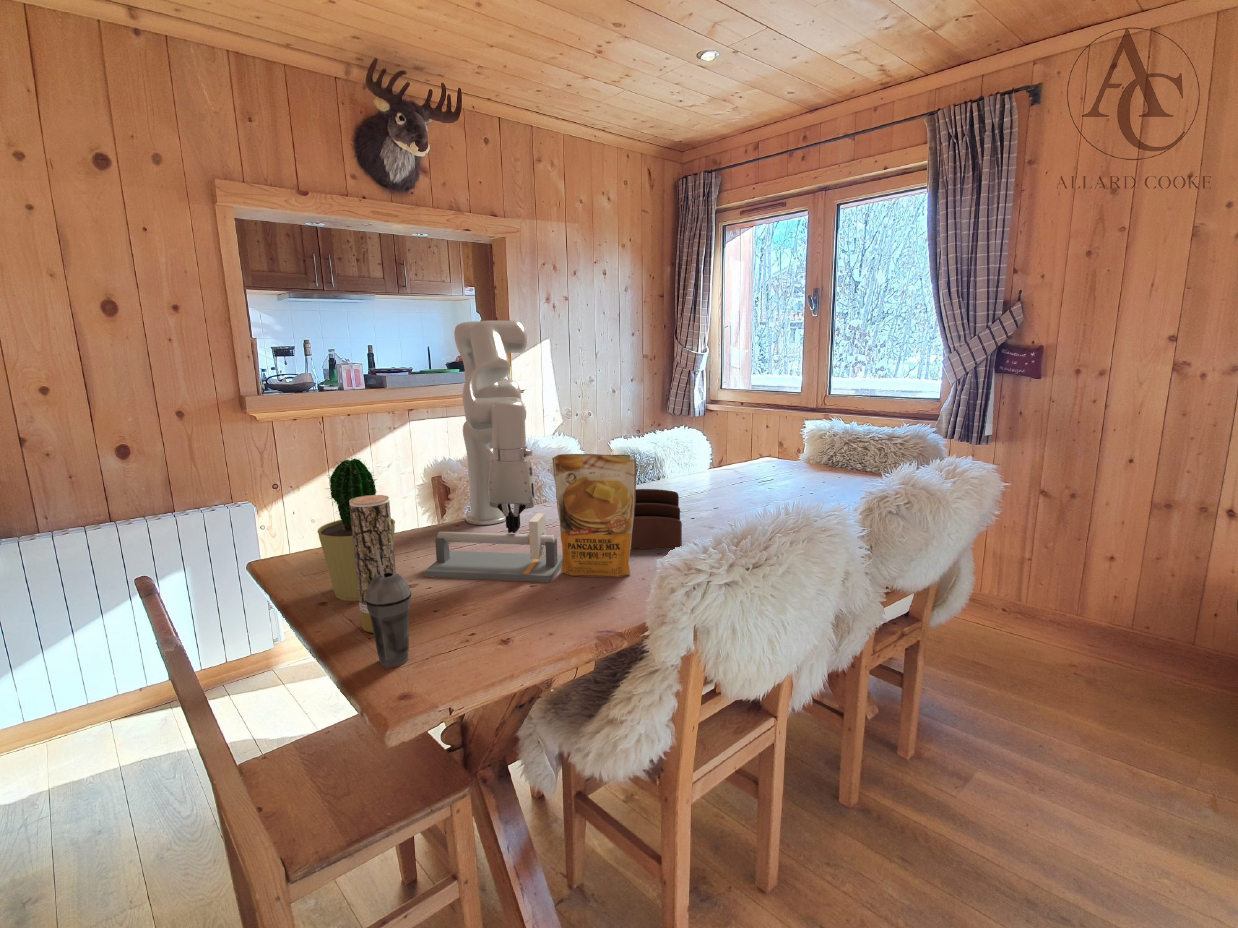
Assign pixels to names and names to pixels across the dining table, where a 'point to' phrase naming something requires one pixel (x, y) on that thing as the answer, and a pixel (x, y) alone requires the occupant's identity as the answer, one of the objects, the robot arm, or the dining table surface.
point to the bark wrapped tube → (371, 544)
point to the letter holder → (656, 519)
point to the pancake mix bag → (595, 512)
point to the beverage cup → (389, 616)
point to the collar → (537, 535)
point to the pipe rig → (494, 559)
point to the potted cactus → (345, 526)
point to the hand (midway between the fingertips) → (513, 531)
